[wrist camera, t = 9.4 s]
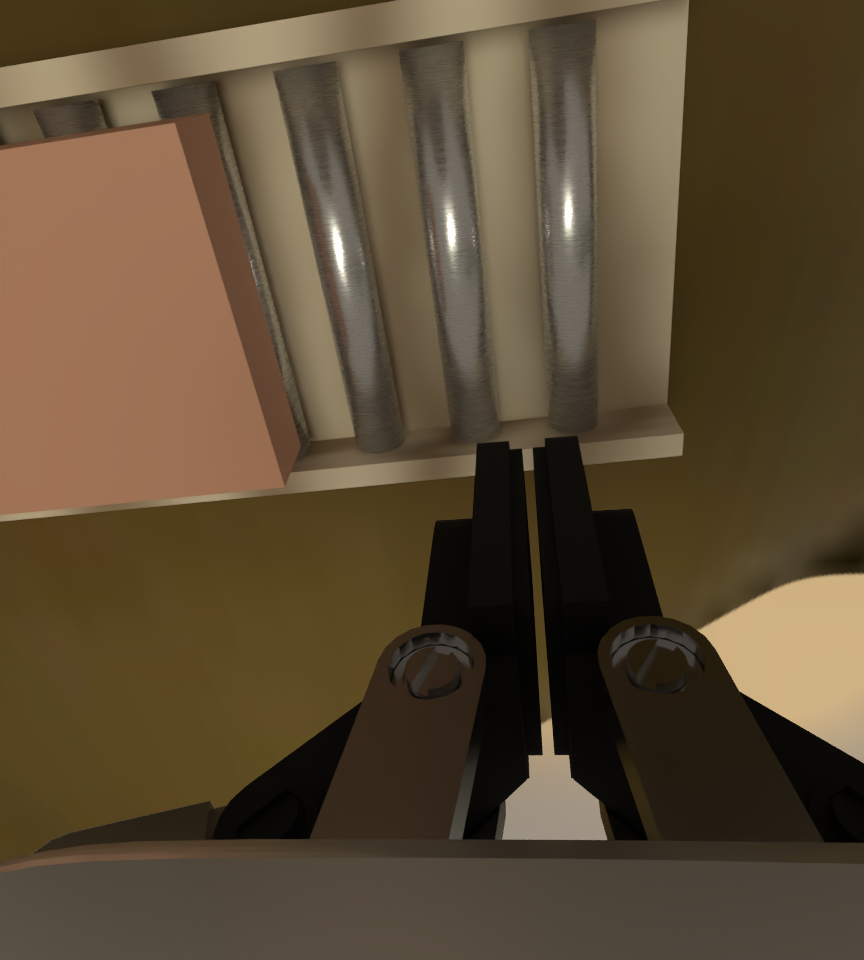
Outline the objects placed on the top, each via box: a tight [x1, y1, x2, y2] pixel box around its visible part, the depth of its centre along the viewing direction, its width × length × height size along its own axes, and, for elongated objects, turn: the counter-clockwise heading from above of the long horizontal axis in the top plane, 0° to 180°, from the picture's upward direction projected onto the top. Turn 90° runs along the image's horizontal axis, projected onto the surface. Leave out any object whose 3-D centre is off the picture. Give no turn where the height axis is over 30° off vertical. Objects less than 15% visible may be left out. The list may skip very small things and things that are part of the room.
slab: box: [0, 113, 301, 515], centre depth 24 cm, size 14×12×3 cm
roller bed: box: [0, 0, 689, 521], centre depth 26 cm, size 32×16×4 cm, turn 98°
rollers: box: [33, 19, 598, 460], centre depth 25 cm, size 26×14×2 cm, turn 98°
